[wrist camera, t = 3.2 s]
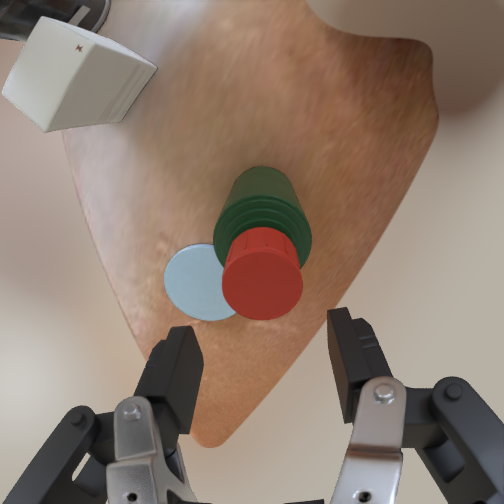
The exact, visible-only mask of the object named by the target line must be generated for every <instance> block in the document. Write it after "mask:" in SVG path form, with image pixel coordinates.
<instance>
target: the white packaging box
mask: <svg viewBox="0 0 504 504" xmlns="http://www.w3.org/2000/svg"><path fill="white" fill-rule="evenodd" d="M156 70H157V67H156V66H154V65H153V64H151V63H150V62H148V61H147V60H145V59H144V58H142V57H141V56H139V55H138V54H136V53H134V52H133V51H131V50H129V49H128V48H126V47H124V46H123V45H121V44H119V43H117V42H115V41H114V40H111V39H108V38H106V37H103V36H101V35H98V34H95V33H93V32H90V31H88V30H85V29H82V28H79V27H77V26H74V25H71V24H68V23H65V22H61V21H58V20H55V19H51V18H48V17H44V16H42V17H41V18H40V19H39V21H38V22H37V24H36V26H35V27H34V29H33V31H32V32H31V34H30V36H29V38H28V39H27V41H26V43H25V45H24V47H23V48H22V50H21V52H20V54H19V56H18V58H17V60H16V62H15V64H14V66H13V68H12V70H11V72H10V75H9V77H8V79H7V81H6V83H5V86H4V88H3V90H2V93H1V94H2V95H3V96H4V97H5V98H6V99H7V100H9V101H10V102H11V103H12V104H13V105H14V106H16V107H17V108H18V109H19V110H20V111H21V112H22V113H24V114H25V115H26V116H27V117H28V118H29V119H30V120H31V121H32V122H33V123H34V124H35V125H37V126H38V127H39V128H40V129H41V130H42V131H43V132H44V133H47V132H52V131H56V130H62V129H68V128H75V127H83V126H90V125H98V124H107V123H116V122H121V120H122V119H123V117H124V116H125V114H126V113H127V111H128V109H129V108H130V106H131V105H132V103H133V102H134V100H135V99H136V98H137V96H138V95H139V93H140V92H141V90H142V89H143V87H144V86H145V85H146V83H147V82H148V80H149V79H150V78H151V76H152V75H153V74H154V72H155V71H156Z"/></svg>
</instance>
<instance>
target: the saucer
mask: <svg viewBox="0 0 504 504" xmlns="http://www.w3.org/2000/svg"><path fill="white" fill-rule="evenodd" d="M223 270H224V268H223V267H222V265H221V264H220V262H219V261H218V258H217V256H216V254H215V250H214V245H210V244H196V245H192V246H189V247H186V248H184V249H182V250H180V251H179V252H178V253H176V254H175V255H174V256H173V258H172V259H171V260H170V262H169V264H168V266H167V268H166V271H165V275H164V283H165V288H166V292H167V294H168V296H169V298H170V300H171V301H172V302H173V304H174V305H175V306H176V307H177V308H178V309H180V310H181V311H182V312H184V313H185V314H187V315H189V316H191V317H193V318H196V319H200V320H205V321H217V320H222V319H226V318H228V317H230V316H232V315H234V314H235V313H237V312H235V311H234V310H233V309H232V308H231V307H230V306H229V305H228V303H227V302H226V300H225V298H224V296H223V293H222V274H223Z"/></svg>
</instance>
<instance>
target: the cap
mask: <svg viewBox="0 0 504 504" xmlns="http://www.w3.org/2000/svg"><path fill="white" fill-rule="evenodd" d="M302 289H303V282H302V277H301V272H300V264H299V260H298V256H297V252H296V248H295V247H294V245H293V244H292V242H291V241H290V239H289V238H288V237H287V236H286V235H285V234H284V233H282V232H280V231H278V230H276V229H272V228H268V227H257V228H252V229H249V230H247V231H245V232H243V233H242V234H240V235H239V236H238V237H237V238H236V239H235V240H234V241H233V242H232V245H231V247H230V250H229V253H228V256H227V259H226V262H225V266H224V270H223V274H222V293H223V296H224V298H225V300H226V302H227V303H228V305H229V306H230V307H231V308H232V309H233V310H234V311H235V312H237V313H238V314H240V315H242V316H244V317H247V318H250V319H254V320H270V319H275V318H278V317H280V316H283V315H284V314H286V313H288V312H289V311H290V310H291V309H292V308H293V307H294V306H295V305H296V304H297V302H298V301H299V299H300V297H301V294H302Z"/></svg>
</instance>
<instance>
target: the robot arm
mask: <svg viewBox="0 0 504 504" xmlns="http://www.w3.org/2000/svg"><path fill="white" fill-rule="evenodd" d="M110 4H111V0H0V38H1V39H8V40H15V41H21V42H26V41H27V39H28V38H29V36H30V34H31V32H32V31H33V29H34V27H35V26H36V24H37V22H38V21H39V19H40V18H41V17H42V16H44V17H48V18H51V19H55V20H58V21H61V22H65V23H68V24H71V25H74V26H77V27H79V28H82V29H85V30H88V31H90V32H93V33H96V32H97V31H98V29H99V28H100V27H101V25H102V24H103V22H104V21H105V19H106V17H107V15H108V12H109V9H110ZM327 333H328V349H329V355H330V360H331V364H332V369H333V373H334V377H335V382H336V386H337V391H338V395H339V400H340V405H341V410H342V414H343V419H344V423H345V424H346V423H351V422H352V423H353V431H352V434H351V438H350V442H349V446H348V448H347V451H346V454H345V458H344V461H343V465H342V468H341V471H340V474H339V477H338V481H337V484H336V487H335V490H334V493H333V496H332V498H331V501H330V504H395V501H396V496H397V491H398V486H399V481H400V475H401V470H402V462H403V453H402V452H401V448H415V450H416V452H417V453H418V455H419V456H420V458H421V460H422V461H423V463H424V464H425V466H426V468H427V469H428V471H429V472H430V474H431V476H432V477H433V479H434V480H435V482H436V484H437V485H438V487H439V489H440V490H441V492H442V494H443V495H444V497H445V498H446V500H447V502H448V504H504V424H503V422H502V421H501V420H500V419H499V418H498V416H497V415H496V414H495V413H494V412H493V411H492V409H491V408H490V407H489V406H488V405H487V404H486V403H485V401H484V400H483V399H482V398H481V397H480V396H479V394H478V393H477V392H476V391H475V390H474V389H473V388H472V387H471V386H470V384H469V383H468V382H467V381H465V380H464V379H462V378H459V377H446V378H443V379H441V380H439V381H438V382H437V383H436V384H435V386H434V388H432V389H431V388H428V389H427V388H425V389H424V388H409V387H406V386H404V385H403V384H402V383H401V382H400V381H399V380H397V379H395V378H394V377H393V375H392V373H391V371H390V368H389V366H388V363H387V361H386V359H385V356H384V354H383V351H382V349H381V347H380V345H379V342H378V340H377V338H376V336H375V333H374V331H373V329H372V327H371V325H370V324H369V323H367V322H366V321H365V320H364V319H363V318H359V319H354V320H352V318H351V316H350V313H349V311H348V308H347V307H343V308H337V309H331V310H327ZM203 366H204V362H203V355H202V352H201V349H200V347H199V344H198V341H197V339H196V336H195V333H194V330H193V328H192V327H191V326H178V327H172V328H171V329H170V331H169V334H168V336H167V339H166V340H161V341H160V342H159V343H158V344H157V345H156V346H155V347H154V348H153V349H152V352H151V354H150V356H149V360H148V361H147V363H146V366H145V367H146V368H144V371H143V373H142V376H141V378H140V380H139V383H138V385H137V388H136V390H135V393H134V395H133V396H132V397H128V398H126V399H124V400H123V401H121V402H120V403H119V404H118V405H117V407H116V409H115V411H114V412H108V413H102V414H95V413H94V412H93V410H91V408H89V407H88V406H77V407H74V408H72V409H71V410H70V411H69V412H68V413H67V414H66V415H65V416H64V418H63V419H62V420H61V422H60V423H59V424H58V426H57V427H56V428H55V430H54V431H53V432H52V434H51V435H50V436H49V438H48V439H47V440H46V442H45V443H44V445H43V446H42V447H41V449H40V450H39V451H38V453H37V454H36V456H35V457H34V458H33V460H32V461H31V462H30V464H29V465H28V467H27V468H26V470H25V471H24V473H23V474H22V475H21V477H20V478H19V480H18V481H17V483H16V484H15V486H14V487H13V489H12V490H11V491H10V493H9V494H8V496H7V498H6V499H5V501H4V502H3V504H105V503H106V501H107V499H108V504H211V503H199V502H198V501H197V498H196V496H195V495H194V493H193V491H192V490H191V488H190V485H189V481H188V478H187V474H186V470H185V466H184V462H183V458H182V453H181V449H180V446H179V444H178V442H177V440H178V436H179V434H189V433H190V428H191V424H192V419H193V414H194V409H195V405H196V400H197V395H198V391H199V386H200V381H201V377H202V372H203ZM86 453H88V454H89V455H90V458H89V459H88V461H87V462H86V464H85V465H84V467H83V469H82V470H81V472H80V473H79V475H78V476H77V478H76V479H75V480H74V481H72V475H73V472H74V471H75V469H76V468H77V466H78V465H79V463H80V462H81V460H82V459H83V457H84V456H85V454H86ZM285 504H324V499H321V500H314V501H305V502H295V503H285Z"/></svg>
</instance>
